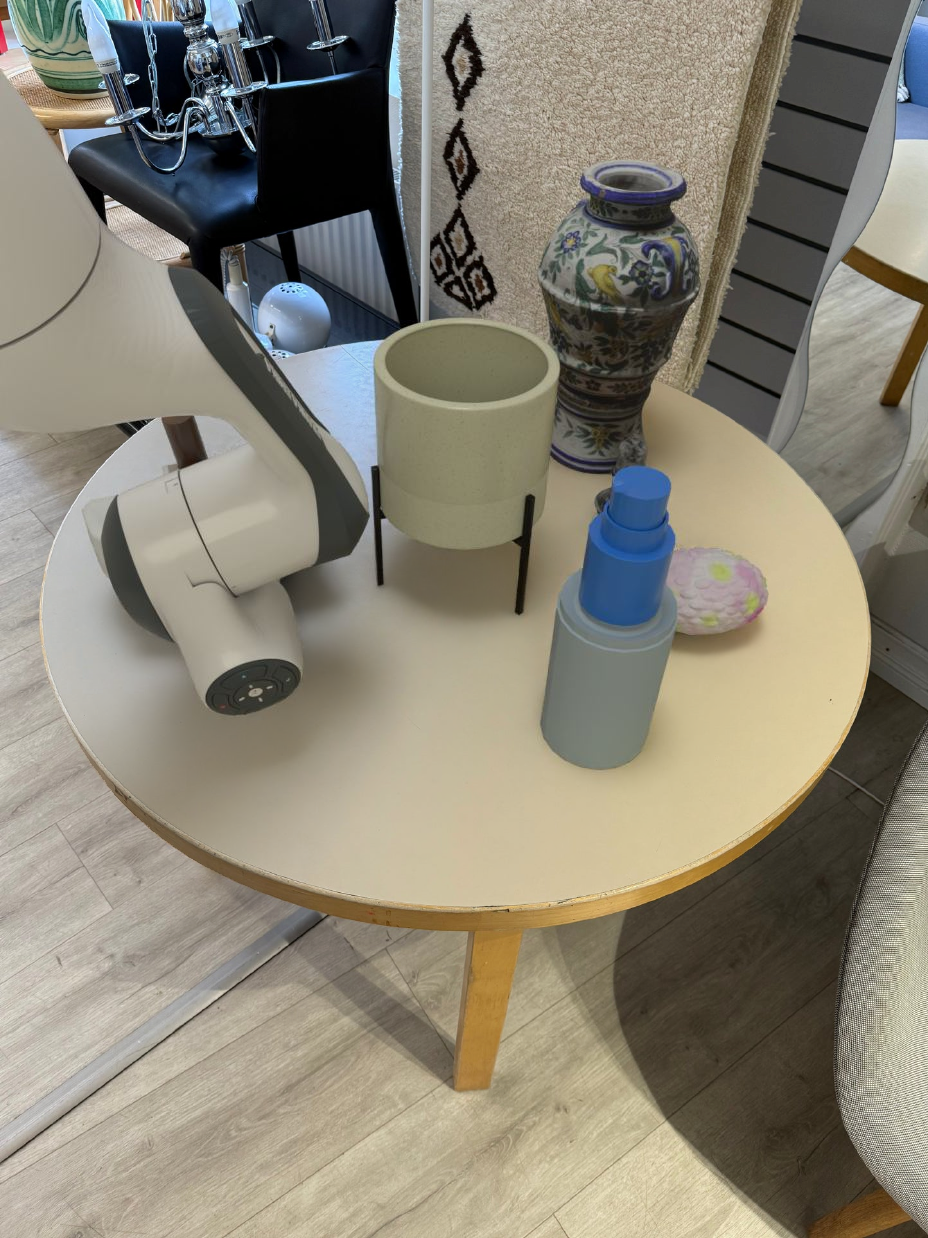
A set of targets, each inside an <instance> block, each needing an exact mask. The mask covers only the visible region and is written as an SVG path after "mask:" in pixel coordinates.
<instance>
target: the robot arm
mask: <svg viewBox="0 0 928 1238" xmlns="http://www.w3.org/2000/svg"><path fill="white" fill-rule="evenodd" d="M172 416H195V417H196V416H197V417H209V418H214V419H217V420H218V419H219V420H221V421H224V422H226V423H228V424H229V425H231V426H232V428H233V429H234V430H235V431H236V433H238V435H239V436H241V438H242V439H243V440H244V441H245V442H246V443H244V444H242V445H239V446H237V447H234V448H231V449H229V450H226V451H224V452H221V453H218V454H216V455H214V456H211V457H208V459H206V460H204V461H201V462H198V463H196V464H193V465H191V466H188V467H186V468H183V469H181V470H180V469H179V467H178V464H177V463H173V464H172V463H171V464H166V465H162V466H161V467H162V472H163V474H162V475H161V476H158V477H156V478H153V479H151V480H148V481H146V482H143V483H141V484H137V485H136V486H134V487H132V488H129V489H127V490H125V491H123V492H121V493H118V494H116V495H112V496H107V497H100V498H94V499H91V500H90V501H88V502H87V503H86V504H85V505H84V506H83V508H82V510H81V513H82V517H83V521H84V524H85V527H86V530H87V533H88V537H89V540H90V542H91V546H92V548H93V551H94V554H95V556H96V559H97V562H98V564H99V566H100V568H101V570H102V572H103V574H104V575H105V577H107V578H108V579H109V581H110V585H111V586H112V589H113V591H114V594H115V595H116V597H117V599H118V600H119V602H120V604H121V606H122V607H123V609H124V610H125V611H126V613H127V614H128V615H129V617H131V619H132V620H133V621H134V622H136V623H137V624H138V625H139V626H140V627H141V628H143V629H145V630H146V631H148V632H150V633H152V634H153V635H155V636H157V637H158V638H160V639H162V640H163V641H166V642H168V643H172V644H176V643H177V646H178V647H179V650H180V652H181V655H182V658H183V659H184V662H185V665H186V667H187V670H188V673H189V675H190V678H191V681H192V683H193V686H194V688H195V690H196V692H197V695H198V697H199V699H200V700H201V702H202V703H203V705H204V706H205V707H206V708H207V709H209V710H210V711H212V712H214V713H216V714H218V715H223V716H231V717H232V716H234V717H235V716H246V715H250V714H254V713H257V712H260V711H263V710H265V709H269V708H270V707H272V706H274V705H276V704H279V703H281V702H282V701H284V700H286V699H287V698H289V697H290V696H291V695H292V694H293V693H294V692H295V691H296V690H297V688H298V687H299V686H300V685H301V683H302V680H303V676H304V657H303V649H302V641H301V636H300V632H299V627H298V622H297V619H296V614H295V610H294V608H293V605H292V602H291V599H290V596H289V594H288V592H287V589H285V587H284V585H282V584H281V581H280V578H282V577H284V578H285V577H287V576H289V575H292V574H294V573H298V572H300V571H302V570H304V569H307V568H309V567H312V568H313V567H317V566H321V565H323V564H326V563H330V562H332V561H335V560H339V559H343V558H345V557H349V556H351V555H352V554H353V552H354V550H355V548H356V547H357V545H358V544H359V541H361V538H362V536H363V534H364V532H365V530H366V528H367V525H368V523H369V520H370V517H371V514H370V506H369V504H370V503H369V496H368V492H367V489H366V485H365V482H364V479H363V477H362V475H361V473H360V470H359V468H358V466H357V465H356V463H355V461H354V459H353V458H352V456H351V455H350V453H349V452H348V451H347V449H346V448H345V447H344V446H343V444H342V443H341V442H340V441H339V440H337V439H336V438H335V436H333V435H332V434H331V432H330V431H329V429H328V428H327V427H326V426H325V425H324V423H323V422H322V421H320V419H318V417H317V416H316V415H315V413H314V412H312V411H311V409H310V408H309V406H308V405H307V403H306V402H305V401H304V399H303V397H301V395H300V394H299V392H297V390H296V388H295V387H294V385H293V384H292V383H291V382H290V380H289V379H288V378H287V376H286V375H285V373H284V372H283V370H282V369H281V368H280V367H279V364H278V363H276V361H275V360H274V358H273V357H272V356H271V354H270V353H269V351H268V350H267V349H266V347H265V346H264V344H263V343H262V342H261V340H260V338H258V336H257V335H256V334H255V332H254V331H253V330H252V329H251V327H250V326H249V325H248V323H246V321H245V320H244V319H243V317H242V316H241V315H240V314H239V312H238V311H237V310H236V308H235V307H234V305H232V304H231V302H230V301H229V299H228V298H227V297H226V296H225V295H224V294H223V293H222V292H221V291H220V290H219V288H217V287H216V286H215V285H214V283H212V282H211V281H210V280H209V279H208V278H207V277H205V276H204V275H203V274H202V273H201V272H199V271H198V270H197V269H195V268H189V267H185V266H180V265H175V264H169V265H167V264H166V263H163V262H161V261H159V260H156V259H155V258H152V257H150V256H149V255H146V254H144V253H143V252H141V251H139V250H137V249H136V248H134V247H133V246H131V245H130V244H129V243H126V242H125V240H123V239H121V237H119V236H117V234H115V233H114V232H113V231H112V230H111V229H110V228H109V227H108V226H107V224H106V223H105V222H104V221H103V219H102V218H101V217H100V216H99V214H98V211H96V208H95V206H94V205H93V204H92V201H91V199H90V198H89V197H88V195H87V193H86V191H85V190H84V188H83V186H82V185H81V183H80V180H79V179H78V177H77V176H76V174H75V172H74V171H73V169H72V167H71V166H70V164H69V163H68V161H67V160H66V158H65V156H64V155H63V153H62V152H61V150H60V148H58V146H57V144H56V143H55V141H54V139H53V138H52V136H51V135H50V134H49V132H48V131H47V129H46V128H45V127H44V125H43V124H42V122H41V121H40V120H39V118H38V117H37V116H36V114H35V113H34V112H33V110H32V108H31V107H30V106H29V104H28V103H27V101H26V100H25V98H23V96H22V95H21V93H20V92H19V91H18V89H16V87H15V86H14V84H12V82H11V80H9V78H8V77H7V76H6V74H5V73H4V72H3V70H2V69H1V68H0V428H1V429H5V430H10V431H14V432H15V431H16V432H22V433H28V434H29V433H32V434H64V433H65V434H67V433H75V432H81V431H89V430H92V429H98V428H102V427H108V426H114V425H120V424H124V423H131V422H136V421H144V420H152V419H160V418H162V417H172Z"/></svg>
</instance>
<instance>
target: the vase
mask: <svg viewBox="0 0 928 1238" xmlns="http://www.w3.org/2000/svg"><path fill="white" fill-rule="evenodd" d="M579 179H580V180H579V185H580V187H581V189H582V190H583V191H584V192H585V193H586V194H588V195H589V197H583V198H581V199H580V200H579V201H578V202H577V203H576V205H575V207H573V208H572V209H571V210H570V211H569V212H568V213H567V215H566V216H565V217H564V218H563V219H562V221H560V223H558V225H557V226H556V227H555V229H554V230H553V231H552V232H551V234H550V235H549V237H548V238H547V241H546V243H545V246H544V249H543V251H542V255H541V261H540V262H539V264H538V267H537V272H536V273H537V275H536V276H537V283H538V284H539V288H540V290H541V293H542V297H543V301H544V306H545V310H546V314H547V320H548V328H549V339H548V344H549V345H550V346H551V347H552V349H553V350H554V351H555V353H556V354H557V356H558V359H559V362H560V375H559V383H558V392H557V401H556V409H555V418H554V427H553V435H552V444H551V453H550V458H552V459H554V460H555V461H557V463H559V464H561V465H563V466H565V467H567V468H569V469H571V470H574V471H578V472H582V473H587V474H595V475H606V474H607V475H609V474H611V469H612V467H613V466H615V465H616V463H617V457H618V451H619V446H620V444H621V442H623V441H624V440H625V439H628V438H633V437H632V435H634V434H635V433H637V434H638V435H639V438H638V439H641V440H643V441H644V442H645V438H644V437H645V436H644V429H643V418H642V415H643V409H644V407H645V404H646V401H648V398H649V397H650V394H651V391H652V384H653V382H654V380H655V378H656V376H657V374H658V372H659V370H660V369H661V368H662V367H663V366H664V365H666V364H667V363H668V361H670V359H671V357H672V355H673V347H674V345H675V341H676V339H677V336H678V334H679V331H680V330H681V327H682V325H683V322H684V320H685V318H686V315H687V314H688V312H689V309H690V307H691V306H692V305H693V304H694V303H695V301H696V300H697V298H698V296H699V294H700V291H701V288H702V287H701V286H702V283H701V282H702V281H701V277H700V273H701V271H700V269H701V266H700V265H701V263H700V255H699V254H700V253H699V248H698V245H697V241H696V240H695V238H694V236H693V234H692V232H691V230H689V228H688V227H687V225H686V224H685V223H684V222H683V221H682V220H681V219H680V218H679V217H678V216H677V215H676V214H675V213H674V211H673V210H672V208H671V205H672V203H674V202H677V201H679V200H681V199H683V197H684V196H685V195H686V193H687V192H688V185H687V181H686V180H685V178H684V177H683V175H682V174H681V173H679V171H678V170H675V169H673V168H671V167H669V166H666V165H663V164H660V163H655V162H652V161H651V162H650V161H646V160H638V159H613V160H605V161H601V162H600V161H599V162H597V163H594V164H591V165H590V166H589V167H588V168H586V169H585V170H584V171H583V172H582V174H581V176H580V178H579Z"/></svg>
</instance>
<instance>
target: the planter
mask: <svg viewBox="0 0 928 1238" xmlns="http://www.w3.org/2000/svg"><path fill="white" fill-rule="evenodd" d="M372 361H373V363H372V365H373V387H374V408H375V409H374V412H375V415H374V416H375V436H376V438H375V439H376V458H377V461H376V462H377V464H376V465H370V475H371V477H370V481H371V495H372V497H371V500H372V517H373V518H372V519H373V520H372V521H373V537H374V540H373V542H374V558H375V559H374V560H375V561H374V562H375V577H376V578H375V579H376V580H375V581H376V585H377V586H378V587H379V586H380V587H381V586H383V585H385V581H384V578H385V577H384V557H383V556H384V555H383V533H382V532H383V531H382V530H383V529H382V520H387V521H388V522H389V523H390V524H391V525H392V526H393V527H394V528H395V529H397V530H398V531H399V532H401V533H402V534H404V535H405V536H407V537H409V538H411V539H413V540H415V541H417V542H419V543H423V544H426V545H430V546H432V547H433V546H434V547H438V548H443V549H450V550H479V549H486V548H493V547H496V546H500V545H504V544H506V543H509V542H512V543H514V544H515V545H517V546H518V547H520V549H519V550H520V551H519V552H520V553H519V563H518V573H517V582H516V583H517V584H516V592H515V603H514V614H516V615H518V616H521V615H522V614H523V613H524V610H525V600H526V589H527V581H528V570H529V562H530V552H531V543H532V534H533V533H532V532H533V527H534V526H535V525H536V524H537V522H539V520H540V518H541V516H542V514H543V512H544V508H545V503H546V494H547V486H548V478H549V470H550V460H551V456H550V453H551V444H552V435H553V427H554V418H555V409H556V402H557V392H558V383H559V375H560V362H559V359H558V356H557V354H556V353H555V351H554V350H553V349H552V347H551V346H550V345H549V342H546V340H544V339H542V337H540V336H538V335H536V334H535V333H533V332H531V331H529V330H527V329H524V328H522V327H519V326H517V325H513V324H511V323H507V322H502V321H498V320H493V319H488V318H487V319H486V318H476V317H446V318H437V319H431V320H425V321H421V322H418V323H414V324H411V325H408V326H406V327H403V328H401V329H399V330H397V331H395V332H393V333H391V334H390V335H389V336H387V337H386V338H385V339H384V340H383V341H382V342H380V344H379V345H378V347H377V348H376V350H375V352H374V355H373V360H372Z"/></svg>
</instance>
